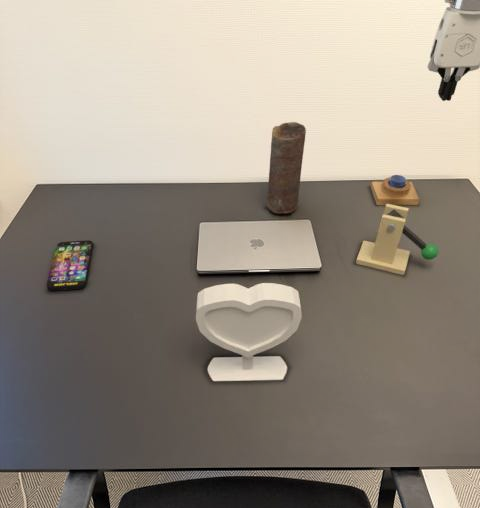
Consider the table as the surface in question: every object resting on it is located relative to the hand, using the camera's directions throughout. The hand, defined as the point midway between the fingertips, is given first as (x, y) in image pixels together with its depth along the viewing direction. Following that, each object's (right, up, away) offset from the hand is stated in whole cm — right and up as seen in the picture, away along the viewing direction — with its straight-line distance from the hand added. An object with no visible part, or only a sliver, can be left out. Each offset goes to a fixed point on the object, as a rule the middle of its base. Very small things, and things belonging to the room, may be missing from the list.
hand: (444, 98), depth 104 cm
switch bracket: (-15, -36, -4) cm, 40 cm away
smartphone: (-81, -38, -5) cm, 89 cm away
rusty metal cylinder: (-35, -23, +9) cm, 43 cm away
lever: (-12, -33, -9) cm, 37 cm away
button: (-7, -16, +11) cm, 21 cm away
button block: (-7, -18, +13) cm, 24 cm away
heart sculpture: (-44, -58, -24) cm, 76 cm away
